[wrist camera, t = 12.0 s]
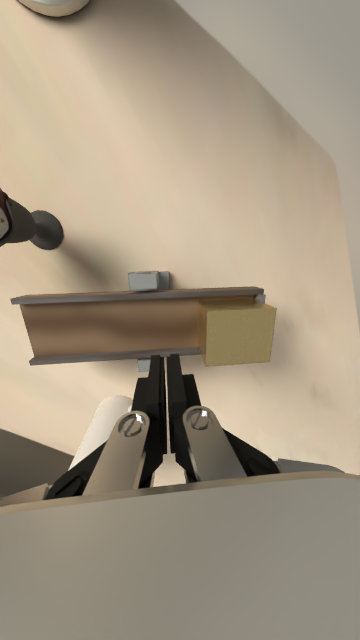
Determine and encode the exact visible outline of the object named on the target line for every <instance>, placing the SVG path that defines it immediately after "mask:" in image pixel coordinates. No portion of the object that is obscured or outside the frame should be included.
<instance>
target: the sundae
mask: <svg viewBox="0 0 360 640" xmlns="http://www.w3.org/2000/svg"><path fill="white" fill-rule="evenodd" d="M62 237H63V232H62V227H61V225H60V223H59V221H58V220H57V219H56V218H55V217H54V216H53V215H52V214H50V213H48V212H46V211H40V210H38V211H34V212H32V213H30V212H29V211H28V210H27V209H26V208H24V207H23V206H22V205H20V204H19V203H17V202H16V201H14V200H12V199H11V198H9V197H8V195H7V194H6V193H5V192H3V191H2V190H1V189H0V247H1V246H2V245H4V244H5V243H19V242H24V241H28V240H30V241H31V242H32V243H33V244H34V245H36V246H37V247H39V248H42V249H53V248H56V247H57V246H58V245H59V244H60V243H61V240H62Z"/></svg>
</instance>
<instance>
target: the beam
mask: <svg viewBox="0 0 360 640" xmlns="http://www.w3.org/2000/svg"><path fill="white" fill-rule="evenodd" d="M263 293H264V289H262V288H258V287H229V288H202V289H175V290H149V291H122V292H95V293H68V294H42V295H25V296H21V297H16V298H12V299H11V303H12V304H20V308H21V311H22V315H23V318H24V322H25V325H26V329H27V332H28V336H29V339H30V343H31V346H32V350H33V353H34V358H32V359H31V360H30V361H29V363H30V365H45V364H60V363H76V362H91V361H106V360H121V359H137V358H151V355H160V357H167V356H170V354H179V356H182V355H198V354H200V351H199V349H198V346H197V326H198V301H216V300H240V299H254V300H257V301H260V302H262V303H265V296H266V295H265V294H263Z"/></svg>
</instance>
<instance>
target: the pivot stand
mask: <svg viewBox="0 0 360 640" xmlns="http://www.w3.org/2000/svg"><path fill="white" fill-rule="evenodd" d="M128 278H129V288H130V291H149V290H169V272H168V271H164V272H159V271H145V272H129V273H128ZM150 360H151V358H138V371H139V372H147V371H149V368H150Z"/></svg>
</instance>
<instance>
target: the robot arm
mask: <svg viewBox="0 0 360 640" xmlns="http://www.w3.org/2000/svg"><path fill="white" fill-rule="evenodd" d="M18 1H20V2H21V3H22V4H24V5H25V6H27V7H28V8H30V9H32V10H33V11H36V12H38V13H41V14H44V15H48V16H56V17H59V16H65V15H70V14H72V13H74V12H76V11H79V10H80V9H81V8H82V7H84V6H85V5H86V4H87V3H88V2H89V1H90V0H18ZM167 387H168V413H169V431H170V449H171V453H175V457H176V462H177V463H178V464H179V465H180V466H181V467H183V468H184V475H185V479H186V484H177V485H168V486H160V487H153V483H154V477H155V470H156V469H157V468H158V467H159V466H160V464H161V463H163V454H167V419H166V386H165V369H164V357H160V355H151V360H150V368H149V376H148V377H146V378H138V380H137V384H136V389H135V394H134V398H133V403H132V408H131V412H128V413H126V414H124V415H122V416H121V417H120V418H119V419H118V420H117V422H116V423H115V425H114V428H113V430H112V432H111V434H110V436H109V438H108V440H107V441H106V442H104V443H103V444H102V445H100V446H99V447H98V448H97V449H95V450H94V451H93V452H92V453H90V454H89V455H88V456H86V457H85V458H84V459H83V460H81V461H80V462H79V463H78V464H76V465H75V466H74V467H72V468H71V469H70V470H69V471H67V472H66V473H65V474H64V475H62V476H61V477H60V478H59V479H58V480H57V481H56V482H55V483H54V484H53V485H51V486H48V484H47V483H46V484H43V485H40V486H38V487H34V488H31V489H28V490H25V491H22V492H19V493H17V494H14V495H11V496H7V497H5V498H1V499H0V640H360V475H354V474H348V473H345V472H343V471H341V470H339V469H338V468H336V467H332V466H329V465H322V464H315V463H308V462H301V461H294V460H286V459H279V458H278V461H272V459H271V458H269V457H268V456H267V455H265V454H264V453H262V452H260V451H259V450H257V449H256V448H254V447H252V446H251V445H249V444H247V443H246V442H244V441H242V440H241V439H239V438H238V437H236V436H234V435H233V434H231V433H229V432H228V431H226V430H224V429H223V428H222V427H221V425H220V423H219V421H218V420H217V418H216V416H215V414H214V413H213V411H211V410H210V409H209V408H207V407H204V406H201V402H200V398H199V395H198V391H197V387H196V383H195V379H194V375H193V374H189V375H182V371H181V365H180V358H179V354H170V357H167Z"/></svg>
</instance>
